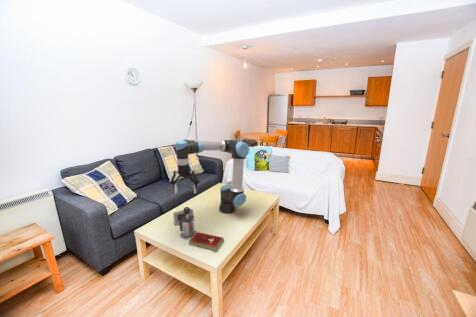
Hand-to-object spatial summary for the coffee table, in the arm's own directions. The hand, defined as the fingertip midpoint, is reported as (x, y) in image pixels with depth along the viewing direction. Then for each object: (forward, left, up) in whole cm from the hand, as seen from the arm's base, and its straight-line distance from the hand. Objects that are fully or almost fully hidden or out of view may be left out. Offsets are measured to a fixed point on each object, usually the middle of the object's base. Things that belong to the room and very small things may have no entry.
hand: (185, 192), depth 154 cm
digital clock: (+8, -16, -34) cm, 39 cm away
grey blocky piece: (0, 0, -33) cm, 33 cm away
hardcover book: (-15, +10, -35) cm, 39 cm away
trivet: (0, 0, -34) cm, 34 cm away
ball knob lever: (0, 0, -31) cm, 31 cm away
